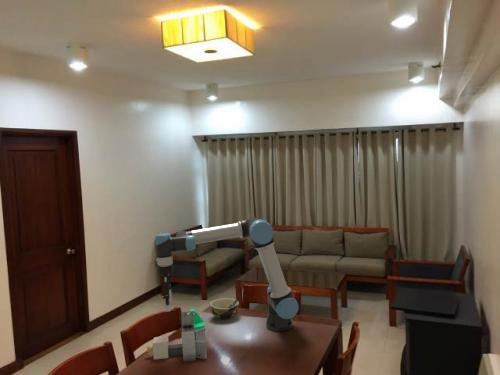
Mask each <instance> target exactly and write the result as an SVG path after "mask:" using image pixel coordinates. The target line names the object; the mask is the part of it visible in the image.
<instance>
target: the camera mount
mask: <svg viewBox="0 0 500 375" xmlns="http://www.w3.org/2000/svg"><path fill="white" fill-rule="evenodd" d="M189 311H193V313H194V326H195V331H196V330H199V329H202V328H205V321H204V320H203V318H202V317H201V316H200V314H199V313H198V312H197V310H196V309H194V308H191V309H190V310H189Z"/></svg>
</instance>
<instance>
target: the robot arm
mask: <svg viewBox="0 0 500 375" xmlns="http://www.w3.org/2000/svg"><path fill="white" fill-rule="evenodd" d="M235 238H240V239H244V238H249V239H250V241H251V244H252V246H253V249H255V250H256V251H257V253H258V255H259V258H260V262H261V264H262V267H263V270H264V274H265V276H266V278H267V281H268V284H269V286H268V287H267V291H266V293H267V306H268V307H267V317H266V321H265V327H266V329H267V330H269V331H271V332H285V331H286V332H287V331H289V330H291V329H292V328H293V326H294V323H293V319H292V318H294V317H295V316H296V315H297V314H298V311H299V303H298V301H297V300H296V298H295V296H294V294H293V291H292V288H291V287H289V286H288V284H287V282H286V279H285V277H284V273H283V270H282V267H281V265H280V264H281V263H280V261H279V259H278V256H277V253H276V250H275V246H274V244H275V242H276V241H275V236H274V228H273V227H272V225H271V224H270V222H268V221H267V220H265V219H262V218H261V217H251V218H247V219H242V220H238V221H237V222H235V223H231V224H230V223H229V224H223V225H217V226H212V227H205V228H199V229H193V230H187V231H183V230H182V231H178V233H176V235H175V236H171V233H169V232H167V233H165V232H163V233H159V234H156V236H155V239H154V240H155V252H156V259H155V261H156V262H157V274H159V275H162V277H161V280H162V286H163V296H162V299H163V300H164V301H163V302H164V309H165V310H164V312H165V313H167V312H171V311H172V305H171V303H172V302H173V296H172V289H173V286H172V284H171V275H170V274H172V273H173V272H174V265H173V264H174V261H173V253H176V252H177V253H178V252H186V251H189V252H190V251H193V250H195V249H196V245H199V244H203V243H204V244H205V243H210V242H216V241H222V240H223V241H224V240H229V239H235Z"/></svg>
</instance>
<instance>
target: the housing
mask: <svg viewBox="0 0 500 375" xmlns="http://www.w3.org/2000/svg"><path fill="white" fill-rule="evenodd" d="M180 322H181V324H180V325H181V344H182V347H183V355H182V357H183V358H182V360H183V361H182V362H193V361H196V360H197V359H203V360H207V358H208V354H207V352H208V351H207V341H206V328H205V327H204V328H202V329H198V330H196V331H195V326H194V313H193V311H190V310H188V311H181V312H180ZM204 341H205V342H204Z"/></svg>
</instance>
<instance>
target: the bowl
mask: <svg viewBox="0 0 500 375" xmlns="http://www.w3.org/2000/svg"><path fill="white" fill-rule="evenodd" d="M239 304H240V302H239V300H238V299H237V298H236V299H235V298H232V297H231V298H230V297H223V298H218V299H214V300H212V301H210V303H209V305H210V307H211V310H210V311H211V312H210V313H211V314H212V316H214V317H216V318H218V319H219V320H228V319H230V318H233V317H235V316H237V315H238V314H239V312H240V310H239ZM234 311H235V312H234Z"/></svg>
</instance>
